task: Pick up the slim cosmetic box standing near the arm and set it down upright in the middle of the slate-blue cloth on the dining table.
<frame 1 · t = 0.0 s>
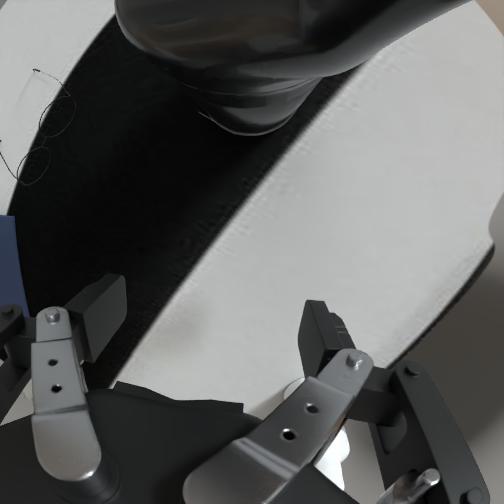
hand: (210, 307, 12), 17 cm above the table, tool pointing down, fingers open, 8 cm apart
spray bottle: (307, 391, 36), on the table
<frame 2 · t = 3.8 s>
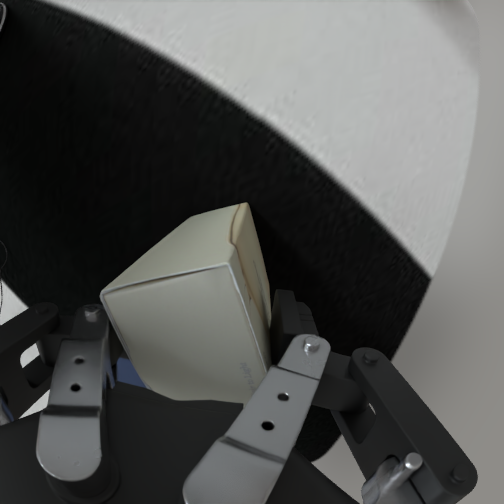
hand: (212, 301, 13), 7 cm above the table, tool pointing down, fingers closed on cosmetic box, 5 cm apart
cosmetic box: (227, 249, 20), on the table, touching gripper
cloth: (135, 393, 25), on the table
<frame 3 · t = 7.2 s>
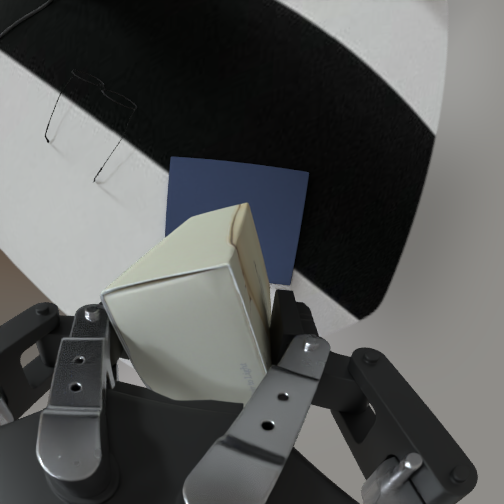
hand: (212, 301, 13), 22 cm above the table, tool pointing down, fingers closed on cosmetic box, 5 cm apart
cosmetic box: (228, 249, 20), point 14 cm above the table, touching gripper
cloth: (232, 221, 34), on the table
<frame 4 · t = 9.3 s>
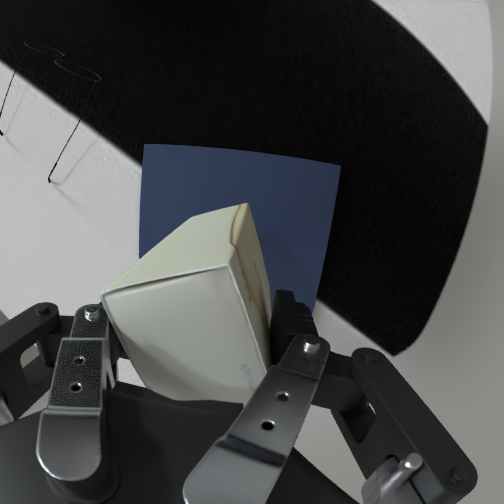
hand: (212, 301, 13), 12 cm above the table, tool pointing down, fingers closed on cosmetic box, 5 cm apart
cosmetic box: (228, 249, 20), point 4 cm above the table, touching gripper
cloth: (231, 235, 24), on the table
eyeglasses: (48, 108, 20), on the table
when the fingers open (8 cm above the table, at t = 10.8 s): cosmetic box stays where it is, resting on cloth.
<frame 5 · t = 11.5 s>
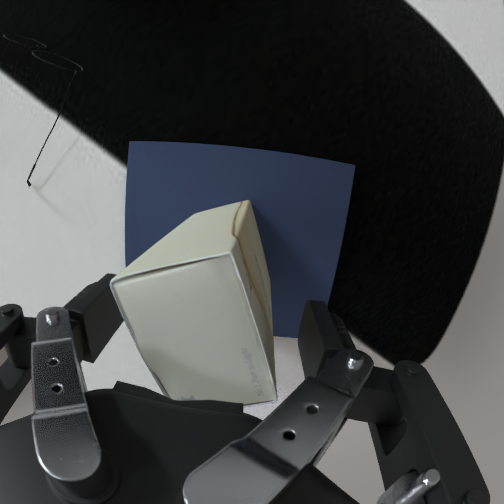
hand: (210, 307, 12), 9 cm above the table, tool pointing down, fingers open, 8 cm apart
cosmetic box: (230, 245, 21), resting on cloth
cloth: (229, 245, 21), on the table
eyeglasses: (28, 105, 17), on the table
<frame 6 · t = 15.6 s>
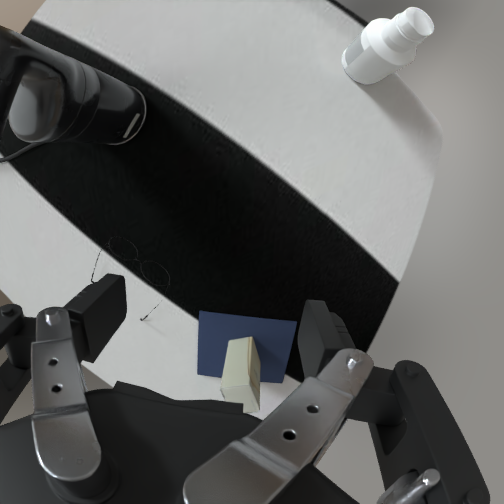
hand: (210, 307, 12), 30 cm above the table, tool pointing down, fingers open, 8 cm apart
cosmetic box: (244, 350, 48), resting on cloth
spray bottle: (361, 65, 34), on the table
cloth: (243, 350, 48), on the table
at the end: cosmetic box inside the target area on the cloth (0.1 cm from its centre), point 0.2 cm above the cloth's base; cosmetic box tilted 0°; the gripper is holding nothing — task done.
